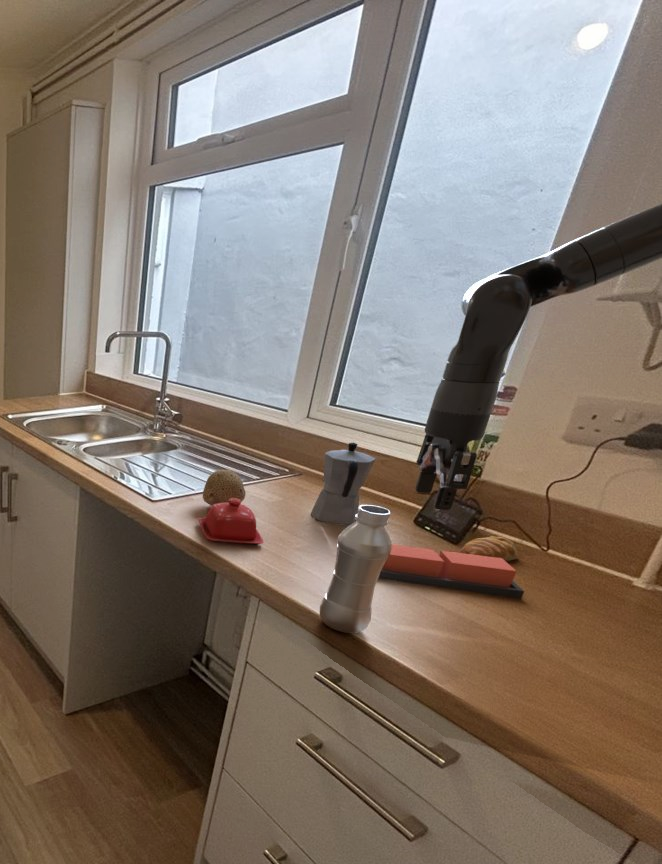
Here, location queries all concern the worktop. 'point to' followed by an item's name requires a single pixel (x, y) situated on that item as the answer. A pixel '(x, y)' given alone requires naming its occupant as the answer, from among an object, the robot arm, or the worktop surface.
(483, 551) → the pastry
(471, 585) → the tray
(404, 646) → the worktop surface
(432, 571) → the red toy brick
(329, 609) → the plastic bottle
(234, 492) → the natural sponge
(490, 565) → the red block
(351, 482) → the coffeepot
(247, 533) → the butter dish
